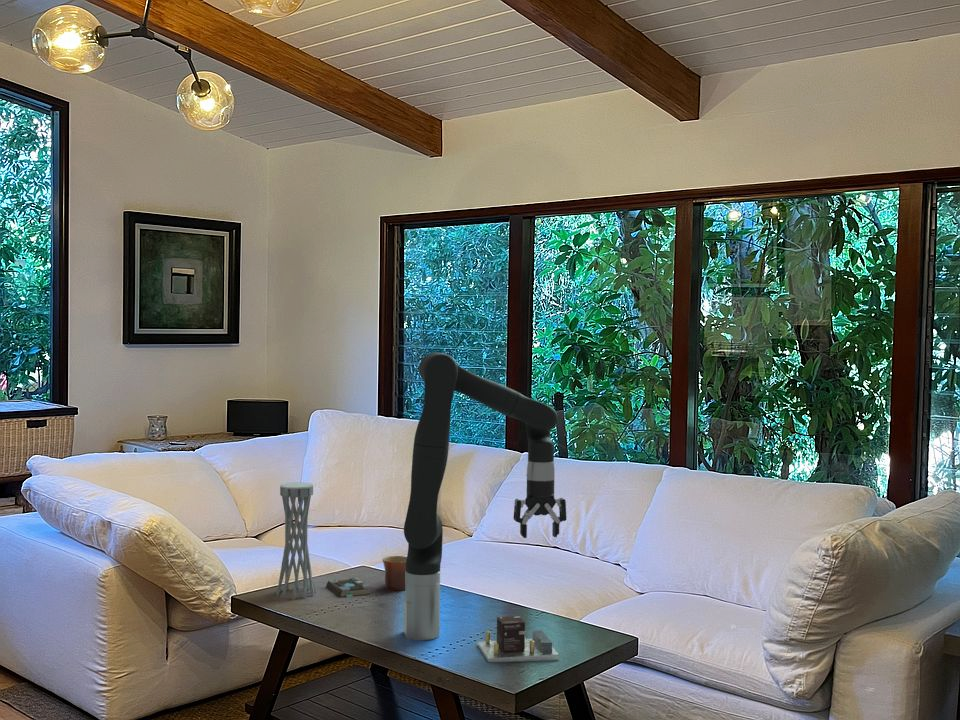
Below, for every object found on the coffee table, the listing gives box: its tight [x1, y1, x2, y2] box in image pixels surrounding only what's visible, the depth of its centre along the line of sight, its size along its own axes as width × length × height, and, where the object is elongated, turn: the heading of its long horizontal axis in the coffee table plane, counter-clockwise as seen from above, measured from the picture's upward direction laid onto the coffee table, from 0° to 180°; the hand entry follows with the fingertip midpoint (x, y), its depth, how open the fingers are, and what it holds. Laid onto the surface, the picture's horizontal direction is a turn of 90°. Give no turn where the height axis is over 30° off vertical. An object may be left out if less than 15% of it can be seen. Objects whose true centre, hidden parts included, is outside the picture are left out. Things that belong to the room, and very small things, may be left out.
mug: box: [382, 555, 407, 592], centre depth 303 cm, size 12×9×10 cm
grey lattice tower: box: [275, 482, 317, 600], centre depth 290 cm, size 14×13×35 cm
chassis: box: [476, 630, 560, 663], centre depth 245 cm, size 18×13×4 cm
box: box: [496, 615, 526, 652], centre depth 245 cm, size 6×6×7 cm
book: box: [325, 576, 373, 598], centre depth 296 cm, size 20×12×5 cm, turn 29°
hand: (539, 537), depth 262 cm, fingers open, 8 cm apart
